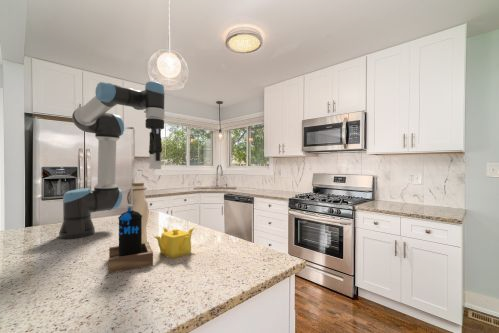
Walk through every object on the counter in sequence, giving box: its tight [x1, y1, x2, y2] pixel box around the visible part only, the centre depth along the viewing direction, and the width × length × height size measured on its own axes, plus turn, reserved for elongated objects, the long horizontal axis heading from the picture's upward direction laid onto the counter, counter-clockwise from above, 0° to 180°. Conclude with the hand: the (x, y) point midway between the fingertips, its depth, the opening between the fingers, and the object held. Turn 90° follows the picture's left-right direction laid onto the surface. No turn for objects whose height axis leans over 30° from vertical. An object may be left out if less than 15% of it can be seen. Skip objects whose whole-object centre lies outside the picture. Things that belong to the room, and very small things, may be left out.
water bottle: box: [126, 182, 150, 243], centre depth 112 cm, size 10×9×28 cm
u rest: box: [108, 241, 154, 274], centre depth 91 cm, size 14×14×4 cm
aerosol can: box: [117, 205, 142, 257], centre depth 91 cm, size 8×8×20 cm
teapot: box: [153, 227, 196, 259], centre depth 101 cm, size 15×14×10 cm
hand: (154, 168), depth 104 cm, fingers open, 13 cm apart
